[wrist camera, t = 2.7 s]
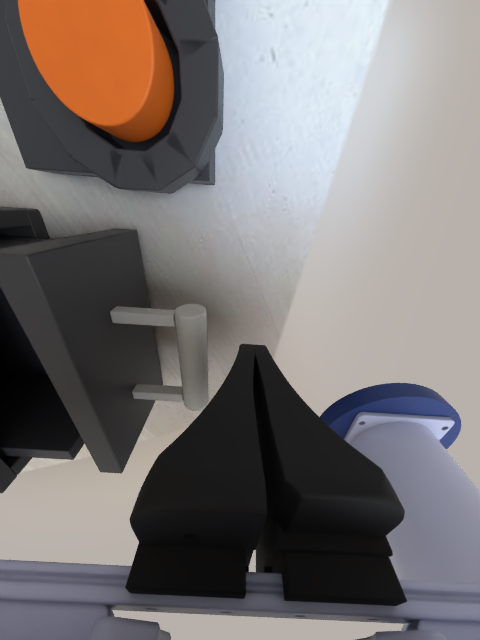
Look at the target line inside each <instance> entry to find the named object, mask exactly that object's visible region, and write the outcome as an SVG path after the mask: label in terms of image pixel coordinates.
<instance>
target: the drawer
mask: <svg viewBox="0 0 480 640" xmlns="http://www.w3.org/2000/svg"><path fill="white" fill-rule="evenodd" d="M175 325H176V332H177V342H178V351H179V360H180V370H181V379H182V387H177V386H162V385H163V381H162V375H161V369H160V363H159V357H158V351H157V345H156V340H155V334H154V328H153V326H168V327H174V326H175ZM183 399H184V405H185V406H186V408H188V409H189V410H192V411H197V410H201V409H203V408H204V407H205V406H206V405H207V403H208V356H207V310H206V308H205V307H204V306H202V305H199V304H184V305H181V306H178V307H177V308H176V309H175V310H166V309H151V308H150V304H149V299H148V293H147V287H146V281H145V275H144V269H143V264H142V258H141V252H140V246H139V240H138V234H137V231H136V230H127V229H110V230H105V231H99V232H94V233H88V234H82V235H77V236H71V237H65V238H60V239H40V238H26V237H11V236H0V456H17V457H35V458H52V459H70V460H73V459H74V458H75V457H76V455H77V454H78V452H79V451H80V449H81V448H82V446H83V445H84V443H85V445H86V447H87V448H88V450H89V452H90V454H91V456H92V457H93V459H94V461H95V463H96V465H97V467H98V469H99V470H100V472H108V473H122V472H123V470H124V468H125V465H126V464H127V461H128V459H129V457H130V455H131V453H132V450H133V448H134V446H135V444H136V442H137V440H138V437H139V435H140V433H141V431H142V429H143V427H144V424H145V422H146V420H147V418H148V416H149V414H150V411H151V409H152V407H153V405H154V403H155V401H156V400H163V401H180V402H182V401H183Z"/></svg>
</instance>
